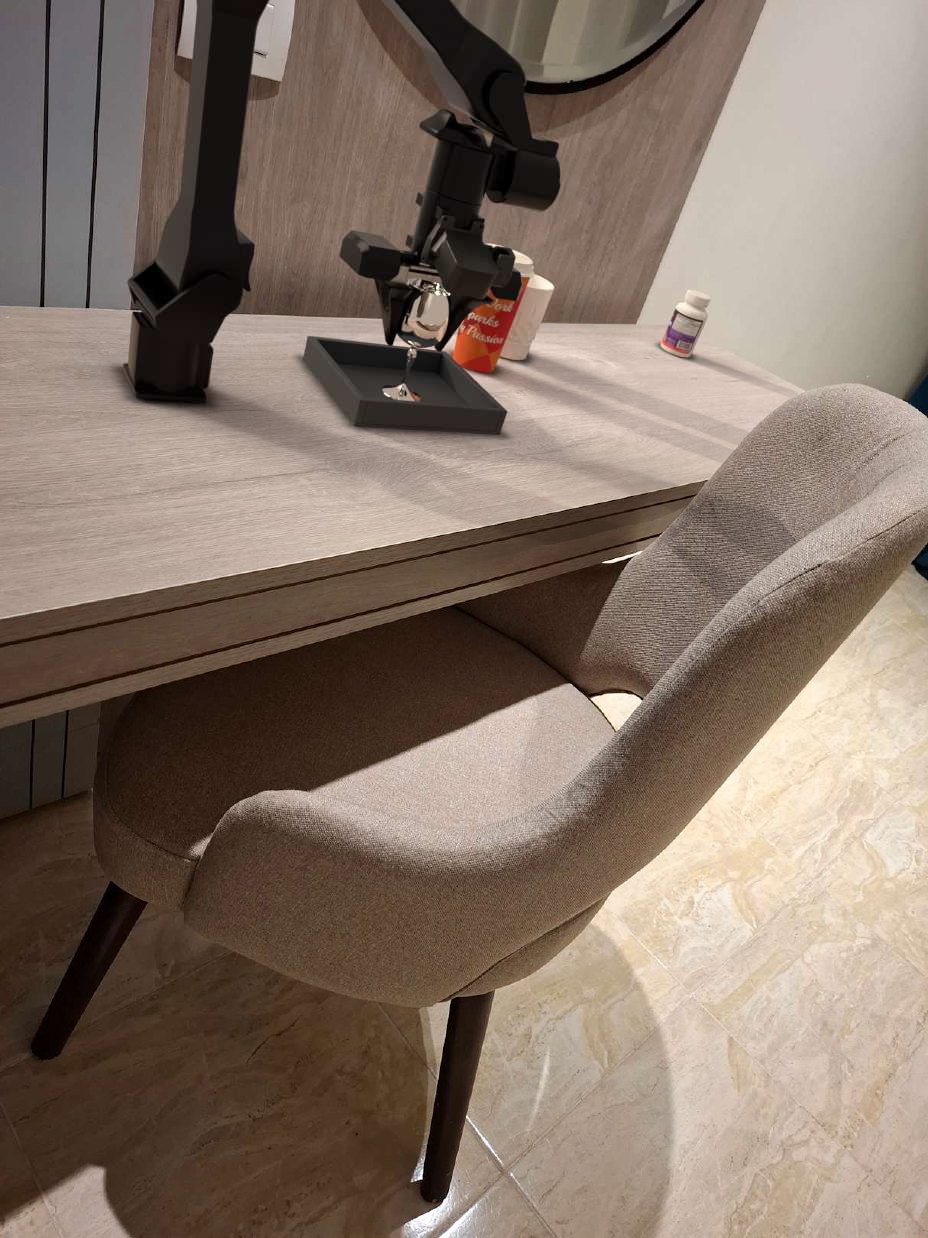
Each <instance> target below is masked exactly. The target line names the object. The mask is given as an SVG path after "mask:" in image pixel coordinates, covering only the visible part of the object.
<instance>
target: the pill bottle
mask: <svg viewBox="0 0 928 1238" xmlns="http://www.w3.org/2000/svg"><path fill="white" fill-rule="evenodd" d="M711 300H712V298H711V296H709V295H707V294H706V293H704V292H701V291H698V290H695V289H688V290H687V291H686V293H685V295H684V301H683V302H682V301H681V302H678V303H677V304H676V306H675V309H674V311H673V312H672V316H671V317H670V320H669V323H668V326H667V327H666V330H665V333H664V335H663V338H662V340H661V342H660V347H661V349H662V350H664V351H665V352H667V353H669V354H671V355H674V356H676V357H680V358H690V357H691V356H692V354H693V353H694V350H695V347H696V345H697V342H698V340H699V338H700V335H701V334H702V331H703V329H704V327H705V324H706V322H707V319H708V316H709V314H708V312H707V310H706V308H708V307H709V304H710V302H711Z"/></svg>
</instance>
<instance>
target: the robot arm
mask: <svg viewBox="0 0 928 1238" xmlns="http://www.w3.org/2000/svg"><path fill="white" fill-rule="evenodd" d="M270 1H271V0H196V1H195V2H196V13H195V14H196V15H195V24H194V35H193V36H194V37H193V47H192V57H191V58H192V59H191V68H190V69H191V71H190V80H189V90H188V91H189V93H188V101H187V102H188V103H187V113H186V126H185V136H184V138H185V139H184V148H183V158H182V169H181V170H182V171H181V180H180V192H179V195H178V199H177V201H176V203H174V207H173V208H172V210H171V212H170V214H169V215H168V217H167V219H166V221H165V223H164V227H163V230H162V233H161V238H160V242H159V245H158V250H157V253H156V257H155V258H154V259H152V260H151V261H150V262H149V263H147V264H146V265H144V266H143V267H142V268H140V269H139V270H138V271H137V272H135V273H134V274H133V275H132V276H130V278H128V279H127V287H128V291H129V293H130V297H131V301H132V302H133V304H135V305H136V306H137V308H138V309H139V310H140V311H135V310H133V311H132V313H131V321H130V322H131V323H130V334H129V335H130V336H129V347H128V357H127V358H128V359H127V360H128V361H127V362H124V363H123V364H122V371H123V373H124V375H125V378H126V380H127V382H128V384H129V386H130V388H131V391H132V393H133V395H134V396H135V398H138V399H144V400H145V399H146V400H147V399H148V400H161V401H175V402H191V403H207V402H208V399H209V398H208V395H207V393H206V391H205V390H207V389H208V388H209V386H210V379H211V372H212V364H213V359H214V358H213V357H214V351H215V349H214V347H213V346H212V343H213V342H214V340H215V338H216V336H217V334H218V333H219V330H220V328H221V327H222V325H223V323H224V321H225V319H226V318H227V317H228V316H229V315H231V313H233V312H236V311H237V310H238V308H239V307H240V305H241V302H242V300H243V296H244V290H245V291H246V292H248V293H250V292H251V290H252V288H251V284H250V270H251V265H252V263H253V259H254V256H255V247H256V245H255V243H254V242H253V241H252V240H251V239H250V238H249V237H248V236H247V235H245V234H244V232H243V231H241V230H240V229H239V228H238V227H237V223H236V217H235V211H236V200H237V192H238V183H239V177H240V168H241V160H242V153H243V146H244V145H243V144H244V135H245V128H246V120H247V112H248V111H247V110H248V104H249V95H250V87H251V78H252V72H253V63H254V55H255V54H254V53H255V47H256V37H257V31H258V26H259V22H260V19H261V18H262V16H263V14H264V12H265V10H266V8H267V7H268V4H269V2H270ZM381 2H382V3H383V5H385V6H386V8H387V9H388V10H389V11H390V13H392V15H393V16H394V17H395V19H396V20H397V21H398V22H399V23H400V25H402V27H403V28H404V29H405V30H406V32H407V33H408V34H409V35H410V37H412V38H413V40H414V41H415V42H416V43H417V45H418V47H419V48H420V50H421V52H422V54H423V55H424V57H425V58H426V59H425V60H426V63H427V66H428V69H429V73H430V75H431V77H432V78H433V80H434V82H435V83H436V84H435V85H437V87H438V89H439V91H440V92H441V94H442V96H443V98H444V100H445V101H446V102H447V104H448V105H449V106H451V108H453V109H454V110H456V111H457V112H460V113H461V114H464V115H465V116H466V117H467V118H468V120H469V121H470V123H471V124H469V123H464V122H460V121H458V120H457V117H456V114H455V113H454V112H453V111H450V110H448V109H447V108H444V107H440V108H439V110H438V111H437V112H435V113H434V114H433V115H431V116H429V117H427V118H425V119H423V120H422V121H420V123H419V125H418V126H419V129H420V130H421V131H422V132H424V133H426V134H428V135H430V136H431V137H433V138H435V139H436V144H435V150H434V153H433V156H432V160H431V165H430V168H429V173H428V175H427V181H426V185H425V188H424V192H420V191H419V192H417V195H416V199H415V202H414V203H415V204H417V205H418V206H419V207H420V208H419V212H418V216H417V220H416V224H415V229H414V232H413V234H407V236H406V240H405V243H404V244H405V246H406V247H407V248H409V250H404V249H399V248H397V247H396V246H395V245H394V244H392V242H390V241H389V240H388V239H387V238H385V236H383V235H380V234H374V233H369V232H364V231H359V230H353V229H351V230H350V231H349V232H348V233H347V234H346V235H345V236H344V238H343V239H342V241H341V247H340V249H339V250H340V251H339V256H338V257H339V258H340V259H342V261H343V262H344V263H346V265H347V266H348V267H350V268H351V269H352V270H353V272H355V273H356V275H358V276H360V277H363V278H366V279H371V280H373V282H374V286H375V289H376V293H377V296H378V302H379V306H380V308H379V309H380V314H381V320H382V327H383V335H384V340H385V341H384V342H385V343H386V345H389V346H392V345H394V344H395V340H396V337H397V336H398V335H397V331H398V326H399V321H400V317H401V312H402V308H403V303H404V300H405V298H406V297H407V296H408V295H409V293H410V292H411V291H412V288H411V287H410V286H409V285H408V284H407V281H408V280H407V279H408V275H409V273H414V274H419V275H420V274H421V275H426V276H432V277H438V278H439V279H440V281H441V285H442V286H443V288H444V290H445V291H446V292H448V293H449V294H451V311H450V319H449V324H448V328H447V331H446V333H445V335H444V337H443V339H442V340H441V341H440V342H439V343H438V344H436V345H434V346H433V348H434V350H437V351H444V349H445V347H446V346H447V344H448V343H449V341H450V340H451V339H452V337H453V336H454V334H455V333H456V332H457V331H458V330H459V326H460V325H461V323H462V322H463V321H464V319H465V318H466V317H467V316H468V315H469V314H470V313H471V312H472V311H473V310H474V309H476V308H478V307H480V306H482V305H485V304H488V305H490V304H492V303H493V301H494V300H493V299H492V298H491V297H489V296H488V293H489V290H490V289H491V292H492V294H493V296H494V297H495V298H498V299H504V300H511V301H517V300H518V299H519V295H520V292H521V289H522V286H523V283H522V276H521V273H520V272H519V271H518V270H516V269H515V268H514V263H515V259H516V257H515V255H514V253H513V251H512V250H513V249H512V248H511V247H506V246H503V247H501V246H502V245H499V246H495V247H494V248H493V246H491V245H486V244H487V243H484V242H483V239H484V238H483V236H484V230H485V228H486V227H485V221H486V218H484V217H483V216H481V214H480V213H481V209H482V206H483V203H484V199H485V195H486V197H487V198H488V200H489V201H490V202H491V203H493V204H498V205H501V206H507V207H512V208H517V209H522V210H527V211H531V212H536V213H543V212H545V211H548V210H549V208H551V206H552V205H553V204H554V202H555V201H556V200H557V198H558V195H559V193H560V189H561V186H562V185H561V167H560V165H561V164H560V162H559V159H558V157H557V153H558V151H559V147H560V143H559V142H558V141H556V140H553V139H552V138H550V137H548V136H545V135H544V136H543V135H533V134H532V130H531V125H530V119H529V115H528V109H527V105H526V104H527V103H526V100H525V89H526V84H527V82H528V81H527V75H526V73H525V70H524V68H523V67H522V64H521V63H520V62H519V61H518V60H517V59H516V58H515V57H514V56H513V55H512V54H510V53H509V52H508V51H507V50H506V49H505V48H504V47H502V46H501V45H500V43H498V42H497V41H495V40H494V39H493V38H491V37H490V36H489V35H487V34H486V33H485V32H483V31H482V30H480V29H479V28H478V27H476V26H475V25H474V24H473V23H471V22H470V21H469V20H468V19H467V18H465V17H464V15H463V14H462V13H461V11H460V10H459V8H457V6H456V5H455V3H453V1H452V0H381ZM483 131H484V132H487V133H488V134H490V135H492V138H491V140H487V139H486V136H485V134H484V132H483Z"/></svg>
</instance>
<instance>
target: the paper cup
mask: <svg viewBox="0 0 928 1238" xmlns="http://www.w3.org/2000/svg"><path fill="white" fill-rule="evenodd" d="M485 244H486V245H491V246H493V248H494V247H495V246H501V247H504V246H503V245H499V244H494V243H489V242H488V243H485ZM512 251H513V253H514V255H515V257H516V259H515V263H514V268H515V269H516V270H518V271H519V272H520V273H521V276H522V283H523V286H522V289H521V292H520V295H519V299H518V300H517V301H511V300H504V299H498V298H495V297H494V296H493V294H492V292H491V289H490V290H489V293H488V296H489V297H491V298H492V299H493V300H494V301H493V303H492V304H490V305H488V304H485V305H482V306H480V307H478V308H476V309H474V310H473V311H472V312H471V313H470V314H469V315H468V316H467V317H466V318H465V319H464V321H463V322H462V323H461V325H460V326H459V327H458V329H457V334H456V339H455V344H454V348H453V352H452V358H453V359H454V360H455V361H456V362H457V363H458V364H459V365H460V366H461V367H462V368H464V369H467V370H469V371H473V372H477V373H482V374H489V373H492V372H494V370H495V368H496V366H497V363H498V361H499V359H500V354H501V351H502V349H503V346H504V344H505V341H506V339H507V336H508V333H509V331H510V328H511V326H512V323H513V321H514V318H515V315H516V313H517V310H518V308H519V305H520V302H521V300H522V297H523V295H524V292H525V289H526V287H527V284H528V282H529V279H530V277H534V276H535V275H536V273H535V272H534V269H535V266H534V265H533V263H534V261H533V259H531V258H530V257H529V256H527V255H525V254H524V253H521V252H519V251H517V250H514V249H512Z"/></svg>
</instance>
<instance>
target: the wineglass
mask: <svg viewBox="0 0 928 1238" xmlns="http://www.w3.org/2000/svg"><path fill="white" fill-rule="evenodd" d="M406 283H407V284H408V285H409V286H410V287H411V288H412V291H411V292H410V293H409V295H408V296H407V297H406V298H405V300H404V303H403V308H402V312H401V317H400V321H399V326H398V331H397V335H396V336H398V338H399V339H400V340H402V341H403V342H404V343H405V344H407V345H409V347H411V348H410V349H409V351H408V353H407V364H406V370H405V374H404V378H403V380H402V382H401V384H400V385H384V386H383V387H382V392H383V393H384V394H385V395H386V396H388V397H389V398H391V399H393V400H405V401H418V402H420V401H421V398H420V396H419V395H418V394H417V393H416V392H414V391H413V390H411V389H409V388H408V387H407V379H408V375H409V371H410V368H411V366H412V364H413V361H414V360H415V358H416V354H417V352H416V348H420V349H427V348H428V349H429V348H432V347H434V345H436V344H438V343H439V342H440V341H441V340H442V339H443V337H444V335H445V333H446V331H447V328H448V324H449V319H450V311H451V294H449V293H448V292H446V291H445V290H444V288H443V286H442V284H440V283H437V282H435V281H432V280H429V279H424V278H420V277H419V278H418V277H410V278H409V279H408V280H407V281H406Z"/></svg>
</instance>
